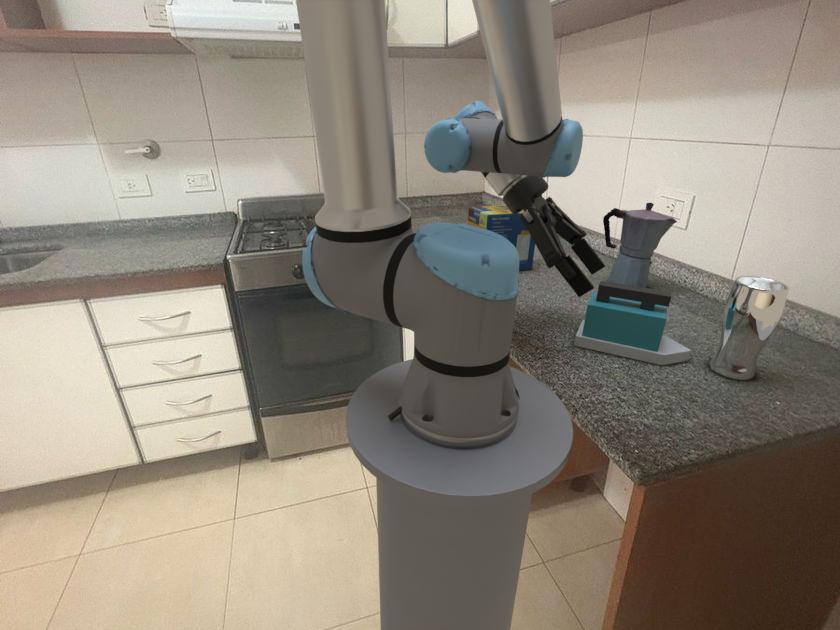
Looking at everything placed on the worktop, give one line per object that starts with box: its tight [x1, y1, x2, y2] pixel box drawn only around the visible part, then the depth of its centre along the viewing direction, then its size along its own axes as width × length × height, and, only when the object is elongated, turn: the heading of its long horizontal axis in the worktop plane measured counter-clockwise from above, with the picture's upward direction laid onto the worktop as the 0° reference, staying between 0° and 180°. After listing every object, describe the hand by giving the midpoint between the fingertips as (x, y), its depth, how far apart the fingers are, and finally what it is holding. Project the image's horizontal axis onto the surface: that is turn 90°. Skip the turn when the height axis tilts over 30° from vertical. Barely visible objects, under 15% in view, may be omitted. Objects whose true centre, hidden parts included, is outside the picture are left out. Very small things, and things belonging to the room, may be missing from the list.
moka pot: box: [602, 202, 678, 288], centre depth 104 cm, size 10×15×20 cm, turn 74°
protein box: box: [467, 204, 536, 272], centre depth 117 cm, size 10×15×16 cm
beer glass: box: [709, 275, 790, 381], centre depth 68 cm, size 7×7×15 cm
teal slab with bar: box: [573, 280, 692, 366], centre depth 75 cm, size 18×8×11 cm, turn 62°
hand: (593, 280), depth 76 cm, fingers open, 13 cm apart
